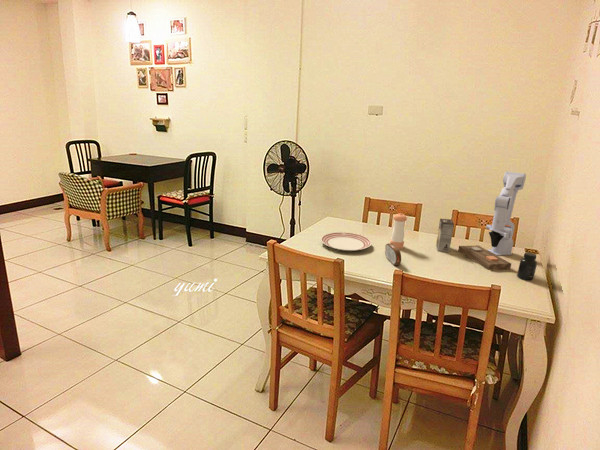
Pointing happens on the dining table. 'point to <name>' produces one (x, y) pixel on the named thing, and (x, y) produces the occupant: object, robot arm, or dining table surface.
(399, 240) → the pepper shaker
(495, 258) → the terracotta key
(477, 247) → the steel key
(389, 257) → the tin
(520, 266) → the supplement bottle
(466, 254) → the board
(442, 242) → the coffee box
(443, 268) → the dining table surface
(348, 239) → the dinner plate
